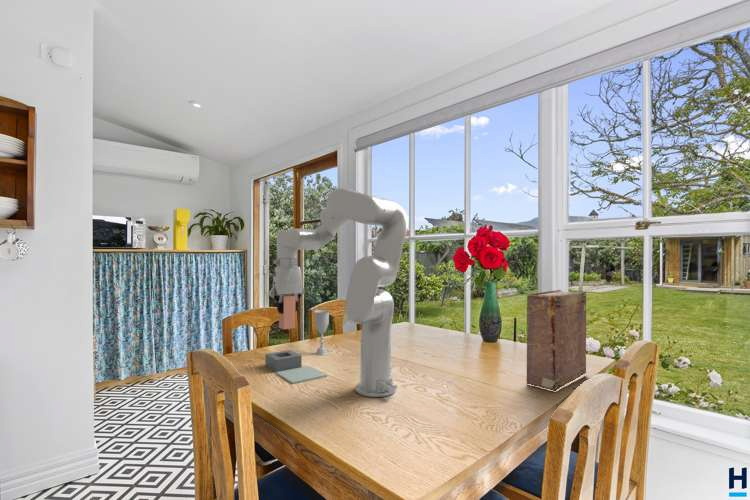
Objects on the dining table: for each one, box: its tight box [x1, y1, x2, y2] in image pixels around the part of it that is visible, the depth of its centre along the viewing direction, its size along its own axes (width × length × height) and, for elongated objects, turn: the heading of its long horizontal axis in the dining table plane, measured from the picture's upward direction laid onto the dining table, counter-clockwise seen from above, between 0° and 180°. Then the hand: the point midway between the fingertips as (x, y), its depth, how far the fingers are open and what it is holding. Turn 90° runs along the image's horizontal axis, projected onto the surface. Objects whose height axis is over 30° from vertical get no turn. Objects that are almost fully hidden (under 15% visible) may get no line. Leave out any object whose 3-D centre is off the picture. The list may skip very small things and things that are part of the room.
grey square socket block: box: [264, 349, 303, 373], centre depth 144 cm, size 10×10×4 cm
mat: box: [275, 365, 328, 385], centre depth 134 cm, size 13×13×1 cm
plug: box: [278, 294, 296, 330], centre depth 142 cm, size 4×4×12 cm
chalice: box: [313, 309, 331, 356], centre depth 163 cm, size 7×7×18 cm
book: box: [526, 289, 587, 391], centre depth 130 cm, size 25×9×30 cm, turn 131°
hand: (287, 311), depth 142 cm, fingers closed on plug, 4 cm apart
